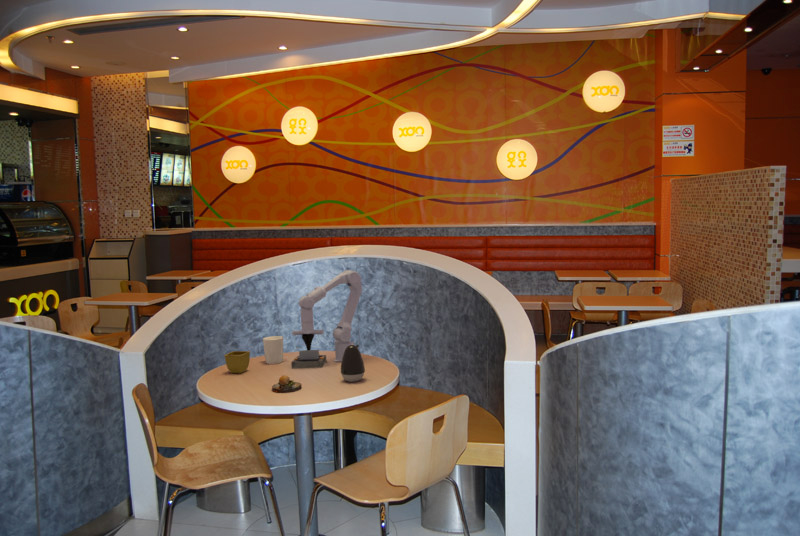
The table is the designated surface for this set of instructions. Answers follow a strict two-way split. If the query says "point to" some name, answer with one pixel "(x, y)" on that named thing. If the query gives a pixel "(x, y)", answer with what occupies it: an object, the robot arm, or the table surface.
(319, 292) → the robot arm
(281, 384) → the plate of food
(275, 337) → the candle holder
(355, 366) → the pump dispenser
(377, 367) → the table surface
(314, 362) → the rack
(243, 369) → the flower pot
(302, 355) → the panel
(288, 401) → the table surface
